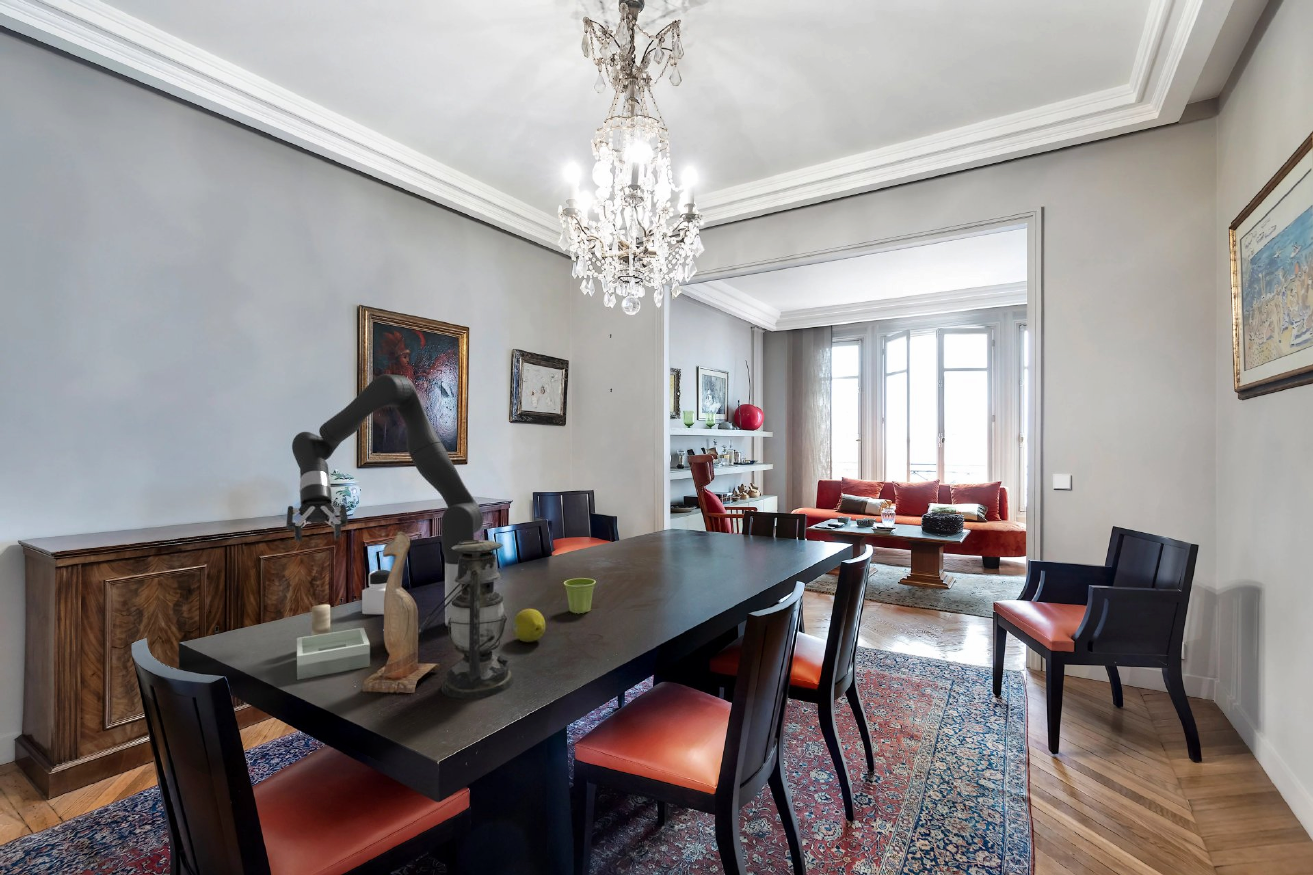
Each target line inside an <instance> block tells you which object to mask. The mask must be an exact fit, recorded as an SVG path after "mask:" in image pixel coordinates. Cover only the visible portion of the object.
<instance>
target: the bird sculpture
mask: <svg viewBox="0 0 1313 875" xmlns="http://www.w3.org/2000/svg"><path fill="white" fill-rule="evenodd" d="M410 541H411V540H410V538H409V536H408V534H406V533H404V532H402V531H398V532H397V534H396V536H395V538H394V539H393V540H391V541H389V542H388V543H386V544H385V545H384V548H383V551H382V557H384V558H387V557H394V560H393V562H392V566H391V568H390V570H389V571H390V574H389V577H388V580H387V585H386V589H385V597H384V614H383V643H384V646H385V649H386V651H387V653H388V654H389V656H388V659H387V661H386V664H385V665H384V666H383V667H381V668H380V669H378V670H377V671H376V673H373V674H372V675H370V676H369V677H367V678H365V679H364V681H363V685H362V692H370V693H371V692H372V693H378V692H379V693H394V692H395V693H397V694H398V693H405V694H406V693H407V694H408V693H409V694H410V693H411V694H413V693H415V692H416V691H415V690H416V685H417V682H418V681H419V679H421V678H422V677H423V676H425V674H427V673H429V672H431V671H434V672H435V673H436V671H437V672H438V673H439V672H440V664H439V663H420V662H419V661H418V657H419V654H418V653H419V652H418V651H419V650H418V649H419V648H418V647H419V635H418V630H419V611H418V605H417V603H416V602H415V599H414V598H413V597H412V595H411V594H410V593H408V591H406V589H404V588H403V587H402V582H403V573H404V567H405V564H406V558H407V556H408V552H409V549H410V547H411V542H410Z"/></svg>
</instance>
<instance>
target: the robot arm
mask: <svg viewBox="0 0 1313 875" xmlns="http://www.w3.org/2000/svg"><path fill="white" fill-rule="evenodd" d="M385 407H387V408H395V409H396V410H397V412H398V413H399V415H400V417H401V419H402V422H403V423H404V426H405V430H406V448H407V452H408V455H409V457H410V459H411V460H412V462H413V464H414V466H415V467H416V470H417V471H418V472H419V474H420V476H421V477H423V478H424V479H425V480H426V481H427V482H428V483H429V484H430V485H431V486H432V487H433V489H435V490H436V491H437V492H438V493H439V494H440V495H441V497H442V499H443V501H444V502H445V505H446V506H447V508H446V509H445V511H444V512H443V514H442V516H441V521H440V536H441V551H442V554H443V556H444V599H445V598H446V597H447V596H448V595H449V594H450V593H451V592H452V590H453V589H454V588H455V587H456V586H457V585H458V584H459V583H457V582H455V581H454V580H455V577H456V576H457V573H458V560H459V558H460V556H461V552H458V551H455V550H453V549H452V547H453V546H456V545H458V543H459V542H460V541H468V540H475V536H474V534H476V533H477V532H479V531H480V530H481V529H482V527H483V524H484V514H483V511H482V509H481V507H480V506H479V504H478V502H477V501H476V500H475V499H474V496H472V494H471V492H469V490H468V488H467V487H466V486H465V483H464V482H463V480H462V478H461V476H460V474H459V472H458V471H457V468H456V467H455V465H454V463H453V461H452V459H451V458H450V455H449V453H448V451H447V450H446V448H445V446H444V443H443V442H442V441H441V439H440V437H439V435H438V434H437V432H436V429H435V427H434V426H433V424H432V422H431V420H430V419H429V417H428V415H427V413H426V410H425V409H424V406H423V403H422V401H421V398H420V396H419V393H418V391H417V388H416V387H415V385H414V383H413V381H411V379H409V378H408V377H406V376H405V375H400V374H390V373H389V374H388V373H384V374H381V375H378V376H376V377H375V378H374V379H372V381H370V382H369V383H368V385H367V386H366V387H365V388H364V389H363V390H362V391H361V392H360V393H359V394H358V395H357V396H356V397H355V398H354V399H353V400H352V401H351V402H349V404H348V405H347V406H346V407H344V408H343V409H341V410H340V411H339V412H338V413H336V414H335V415H334V416H332V417H330V419H328V420H326V422H324V423H323V424H321V425H320V427H319V432H318V434H319V435H317V434H314V433H312V432H309V431H301V432H299V433H297V434H296V435H295V437H294V438H293V441H292V443H291V449H292V454H293V456H294V458H295V461H296V463H297V466H298V467H299V475H300V476H299V477H300V481H299V496H300V497H299V498H300V499H299V500H300V502H299V503H300V506H299V507H293V506H292V505H289V506H288V507H287V512H286V526H285V529H286V530H288V531H289V530H293V531H294V540H295V541H297V543H302V539H303V534H302V528H303V527H305V525H307V524H308V523H310V524H316V523H321V524H322V523H326V524H328V525H329V526H331V527H333V534H334V536H333V537H334V541H339V539H341V536H342V527H343V528H346V527H347V526H348V521H349V518H348V515H347V514H348V512H347V508H346V505H345V504H341V505H340V506H334V504H333V499H332V498H333V497H332V485H331V484H332V483H331V480H330V474H329V473H330V472H329V465H328V463H327V461H326V460H328V459H329V458H331V456H333V454H334V452H335V450H336V449H338V447H339V446H340V444H341V443H342V442H344V441H345V440H346V439H348V438H349V437H351V436H352V435H353V434H355V433H356V432H357V431H358V430H359V429H360V428H361V426H362V425H363V423H364V422H365V421H366V420H365V419H367V418H368V417H369V416H370V415H371V414H373V413H375V412H376V411H378V410H381V409H384V408H385ZM334 513H336V514H337V515H338V516H339V517H340V520H339V518H337V517H336V515H335V514H334ZM297 514H299V515H300V518H299V519H298V520H297V521H296V522H293V517H296V516H297ZM462 543H463V542H462ZM460 544H461V543H460ZM463 554H465V553H463ZM460 590H461V584H460V586H459V587H458V588H457V589H456V590H455V591H454V592H453V593H452V594H451V595H450V596H449V597H448V598H447V599H446V600H445V601H444V606H445V605H446V604H447V603H448V602H449V601H450V600H451V599H452V598H453V597H454V596H455V595H456V594H457V593H458V592H459V591H460ZM460 594H462V591H461V592H460V593H459V594H458V595H460ZM458 595H457V596H458ZM457 596H456V597H457ZM456 597H455V598H454V599H456ZM454 599H453V600H454ZM453 600H452V601H453ZM452 601H451V602H450V603H449V604H448V605H447V606H446V607H445V609H444V611H445V612H444V619H445V620H444V621H445V622H444V623H445V626H446V627H448V621H449V619H450V618H451V613H452V609H453V605H452ZM450 621H451V619H450ZM449 628H451V626H450V624H449Z"/></svg>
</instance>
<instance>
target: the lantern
mask: <svg viewBox="0 0 1313 875" xmlns="http://www.w3.org/2000/svg"><path fill="white" fill-rule="evenodd" d="M462 542H463V543H462ZM460 543H461V544H460ZM503 546H504V545H503V543H500V542H497V541H493V540H487V539H486V540H484V539H483V540H480V539H474V540H468V541H460V542H459V543H458V545H456V546H453V547H452V549H453V550H455V551H458V552H461V556H460V558H459V560H458V573H457V576H456V577H455V580H454V581H455V582H457V583H459V584H458V585H457V586H456V587H455V588H454V589H453V590H452V592H451V593H450V594H449V595H448V596H447V597H446V598H445V597H444V599H443V600H442V601H441V602H440V603H439V604H438V605H437V606H436V607H435V608H434V609H433V610H432V612H431V613H430V614H429V615H428V616H427V618H426V619H425V621H424V622H423V623H422V625H421V626H420V627H418V636H419V635H420V634H422V633H423V632H424V631H425V630H426V629H427V628H428V627H429V625H431V623H432V622H434V621H435V619H436V618H437V617H438V616H439V615H441V613H442V612H443V611H445V607H446V606H447V605H448V604H449V603H450V602H451V601H452V600H453V599H454V598H455V597H456V596H457V595H458V594H459V593H460V592H461V591H462V594H460V595H458V596H457V597H456V599H454V600H453V601H452V605H453V609H452V613H451V618H450V619H451V621H450V619H449V621H448V626H447V631H448V637H449V640H450V642H451V643H452V645H453V646H454V650H455V651H456V652H458V653H460V654H463V658H460V660H457V662H454V664H452V665H451V666H449V667H448V668H447V670H446V677H445V678H444V681H443V683H442V685H441V688H440V689H441V692H442V693H443V694H445V696H447V697H451V698H454V699H462V700H463V699H464V700H470V699H480V698H482V699H483V698H487V697H491V696H495V695H497V694H499V693H502V692H505V691H506V690H507V689H509V688H510V687H512V685H513V684H514V681H515V679H514V676H513V673H512V672H511V670H510V669H509V666H510V665H509V664H510V663H508V662H509V658H508V657H506V656H505V655H502V654H500V655H498V656H496V655H494V654H493V651H494V650H496V649H497V648H499V647H501V640H502V638H503V636H504V633H505V627H506V622H507V619H508V618H507V617H506V614H505V609H504V605H503V604H504V603H503V601H504V597H503V596H502V595H500V593H498V592H496V591H494V590H495V589H494V588H495V586H494V585H495V582H496V581H498V580H500V579H501V574H500V573H499V571H498V562H497V560H498V559H497V556H496V554H495V553H494V551H495V550H498V549H501V548H502V547H503ZM463 553H465V554H463ZM460 584H461V590H460V591H459V592H458V593H457V594H456V595H455V596H454V597H453V598H452V599H451V600H450V601H449V602H448V603H447V604H446V605H445V604H444V606H443V607H442V608H441V609H440V610H439V611H438V613H437V612H436V611H437V610H438V609H439V607H441V605H442V604H443V603H445V600H446V599H447V598H448V597H449V596H450V595H451V594H452V593H453V592H454V591H455V590H456V589H457V588H458V587H459V586H460ZM435 612H436V614H435V615H434V617H432V619H431V620H430V621H429V622H428V623H427V621H428V620H429V619H430V617H431V616H432V615H433V614H434V613H435ZM426 623H427V624H426ZM425 624H426V625H425ZM449 624H450V626H451V627H449ZM450 632H451V633H450Z"/></svg>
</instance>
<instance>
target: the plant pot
mask: <svg viewBox="0 0 1313 875" xmlns="http://www.w3.org/2000/svg"><path fill="white" fill-rule="evenodd" d="M563 584H564V587H565V591H566V595H567V600H568V609H569V612H570V613H573V614H576V613H577V614H580V613H582V614H584V613H588V612H589V613H590V611H591V609H592V608H591V607H592V599H593V591H594V588H595V584H596V580H595V579H593V578H589V577H588V578H587V577H586V578H583V577H577V578H572V579H567V580H565V581H564V582H563Z"/></svg>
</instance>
